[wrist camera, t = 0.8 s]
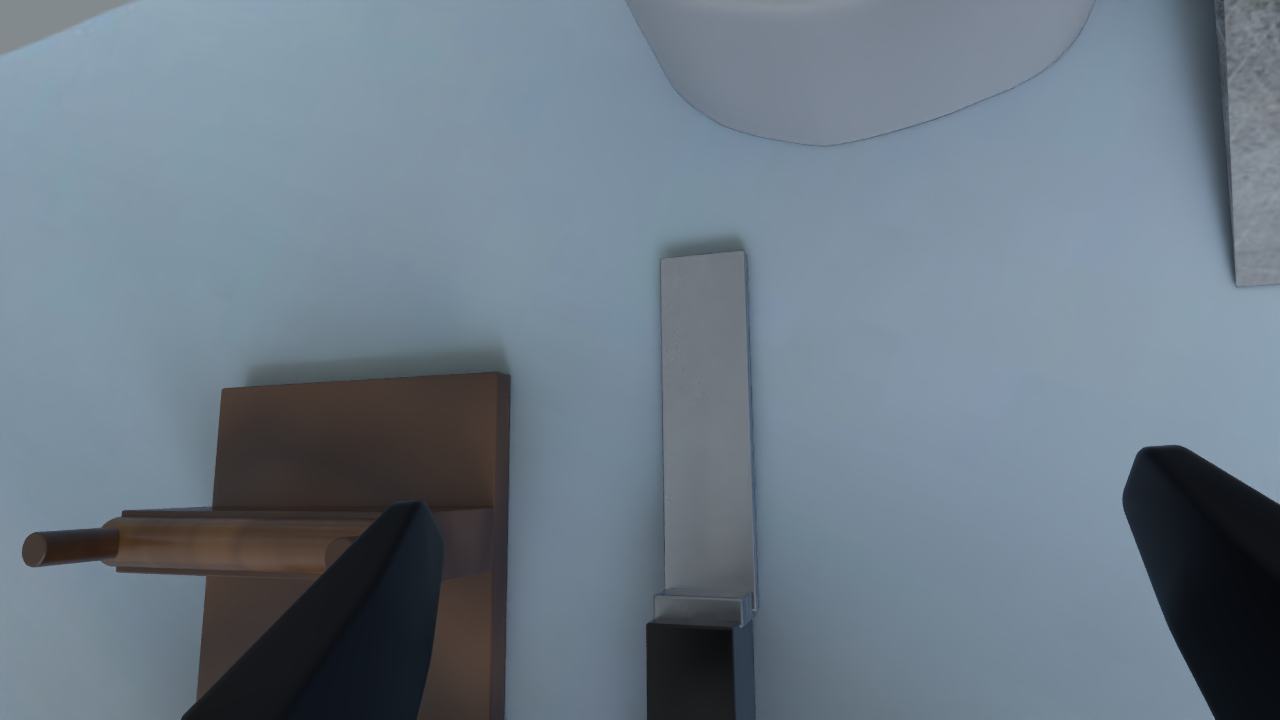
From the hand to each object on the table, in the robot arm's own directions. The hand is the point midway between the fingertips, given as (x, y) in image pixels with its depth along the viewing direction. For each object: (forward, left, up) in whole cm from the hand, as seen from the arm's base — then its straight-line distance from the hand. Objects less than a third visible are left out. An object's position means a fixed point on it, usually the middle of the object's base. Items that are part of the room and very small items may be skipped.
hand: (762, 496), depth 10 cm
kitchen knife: (-4, +4, -13) cm, 14 cm away
